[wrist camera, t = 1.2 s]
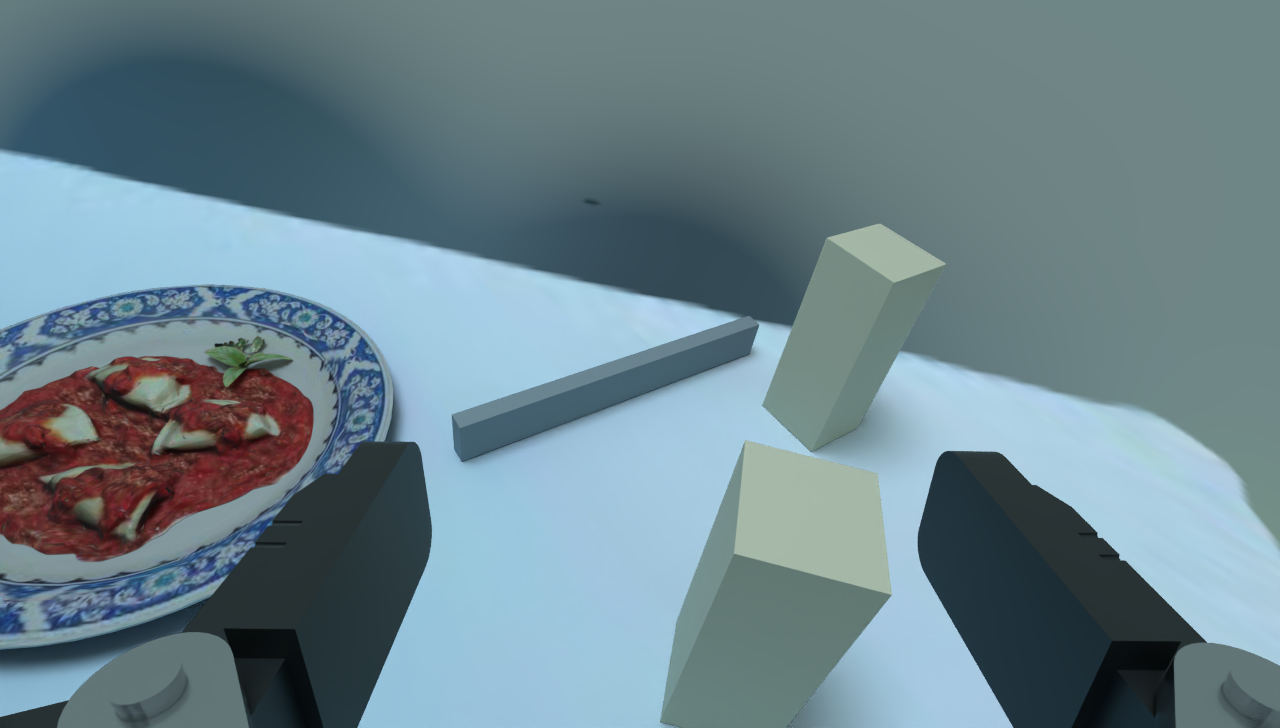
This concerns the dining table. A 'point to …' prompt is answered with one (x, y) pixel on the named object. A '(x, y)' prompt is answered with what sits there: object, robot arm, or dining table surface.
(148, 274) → the dining table surface
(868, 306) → the faced carton
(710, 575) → the carton
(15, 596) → the ceramic plate
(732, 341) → the rail
